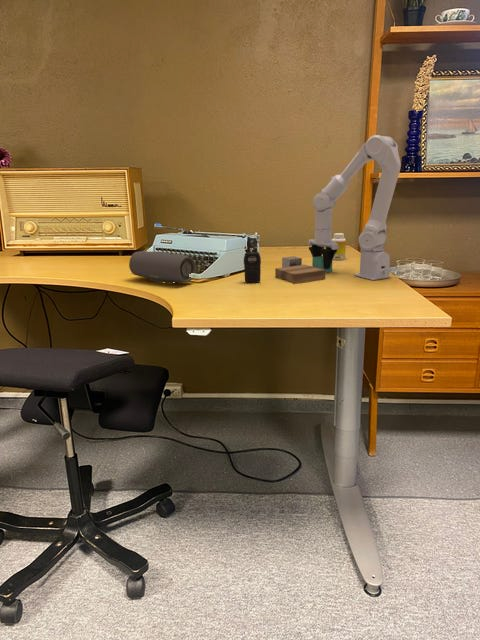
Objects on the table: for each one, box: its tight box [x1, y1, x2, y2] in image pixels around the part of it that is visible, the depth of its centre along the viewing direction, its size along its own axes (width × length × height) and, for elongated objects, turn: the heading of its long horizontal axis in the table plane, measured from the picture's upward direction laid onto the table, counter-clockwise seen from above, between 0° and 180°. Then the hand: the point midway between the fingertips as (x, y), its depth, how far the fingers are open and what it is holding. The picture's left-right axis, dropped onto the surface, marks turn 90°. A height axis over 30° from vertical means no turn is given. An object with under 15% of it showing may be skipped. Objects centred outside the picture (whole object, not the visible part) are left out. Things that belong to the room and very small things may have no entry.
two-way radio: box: [243, 235, 262, 284], centre depth 153 cm, size 6×4×15 cm
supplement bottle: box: [331, 232, 347, 261], centre depth 189 cm, size 6×6×10 cm
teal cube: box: [311, 255, 333, 273], centre depth 168 cm, size 5×5×5 cm
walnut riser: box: [274, 264, 327, 284], centre depth 158 cm, size 12×12×3 cm
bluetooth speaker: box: [128, 250, 197, 283], centre depth 157 cm, size 23×9×10 cm, turn 56°
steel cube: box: [281, 255, 303, 268], centre depth 169 cm, size 5×5×5 cm
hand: (322, 267), depth 168 cm, fingers closed on teal cube, 5 cm apart
